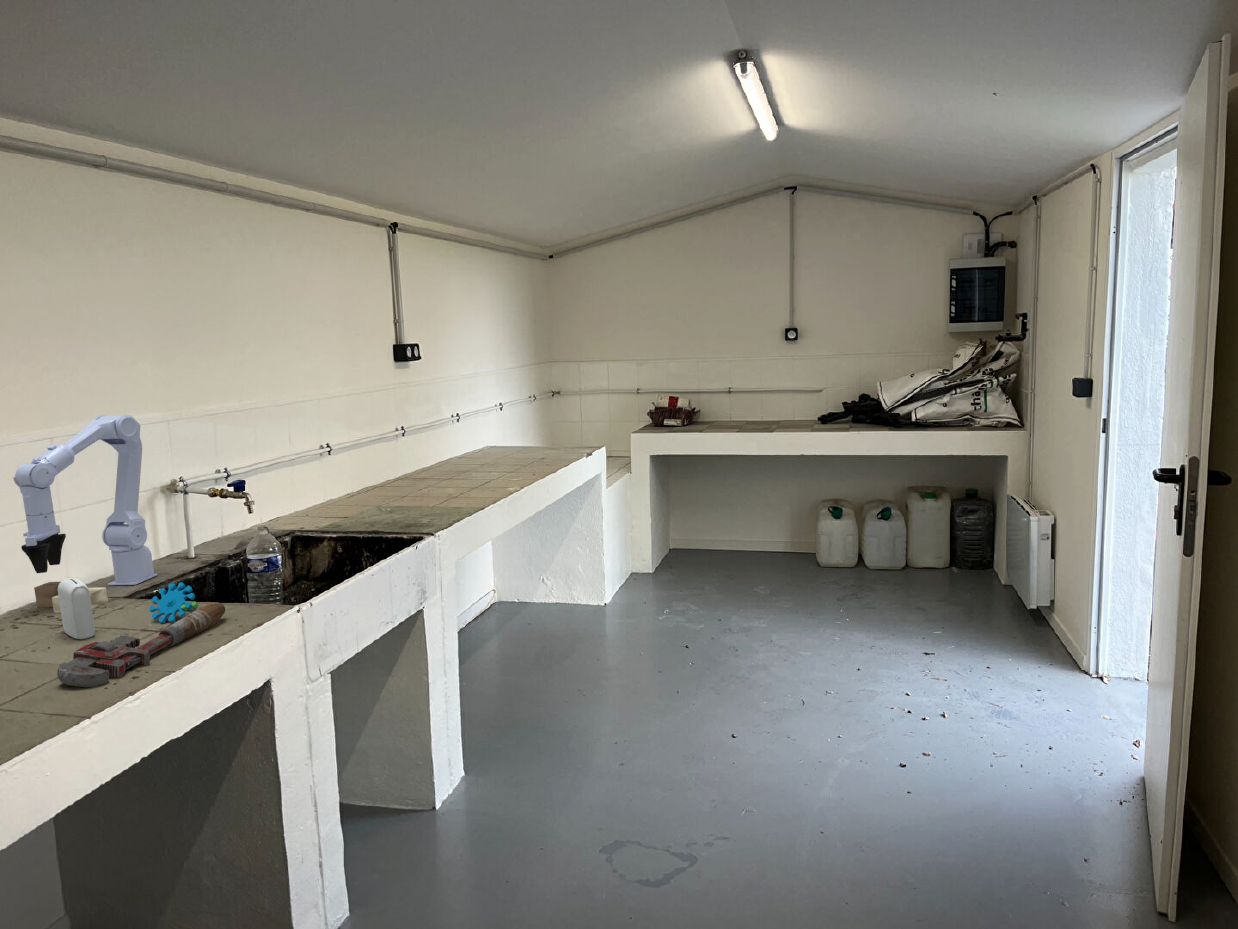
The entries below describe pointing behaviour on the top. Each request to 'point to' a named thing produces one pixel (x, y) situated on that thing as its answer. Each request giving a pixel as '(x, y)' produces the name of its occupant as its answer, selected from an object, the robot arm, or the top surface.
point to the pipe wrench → (131, 650)
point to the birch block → (96, 596)
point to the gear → (173, 603)
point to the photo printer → (76, 608)
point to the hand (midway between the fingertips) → (48, 568)
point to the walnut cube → (46, 594)
